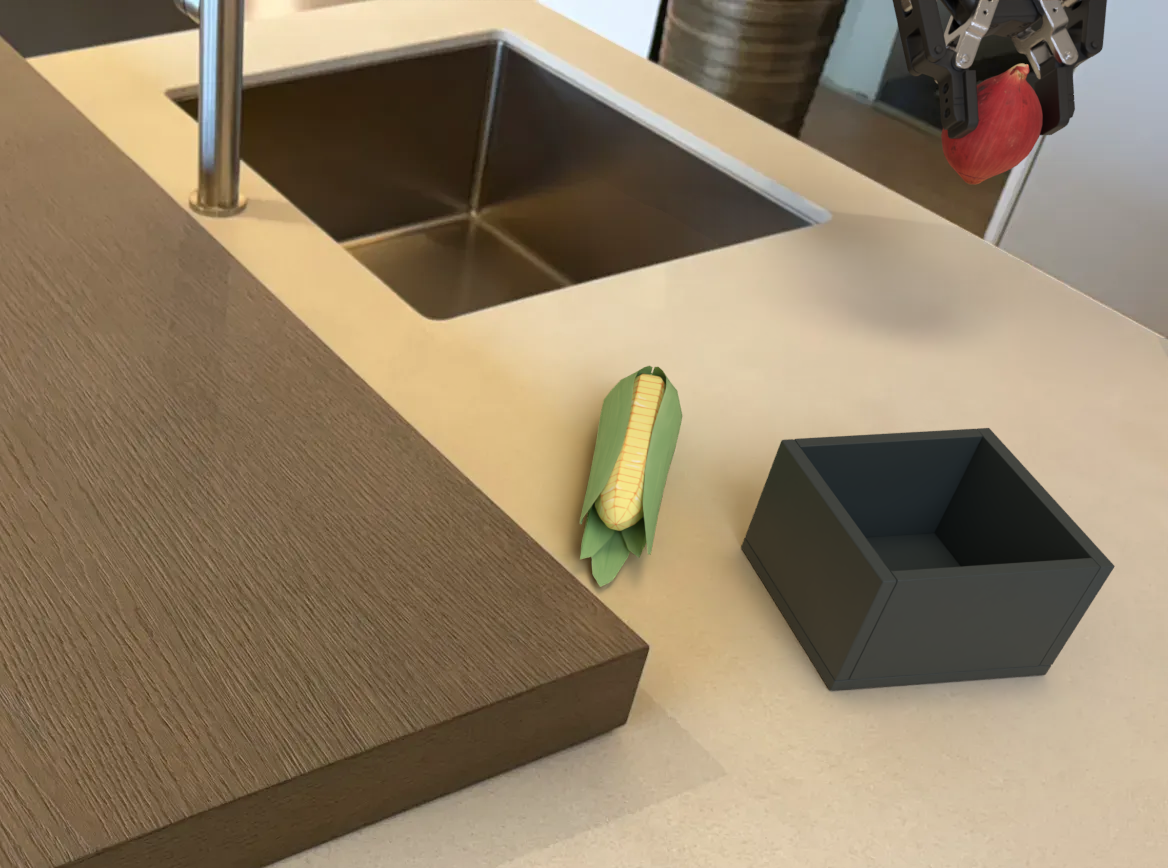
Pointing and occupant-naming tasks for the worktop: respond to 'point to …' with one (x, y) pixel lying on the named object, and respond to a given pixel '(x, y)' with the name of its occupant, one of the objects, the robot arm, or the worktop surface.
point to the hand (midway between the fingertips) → (1009, 131)
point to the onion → (997, 128)
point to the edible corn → (629, 470)
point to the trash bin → (920, 558)
